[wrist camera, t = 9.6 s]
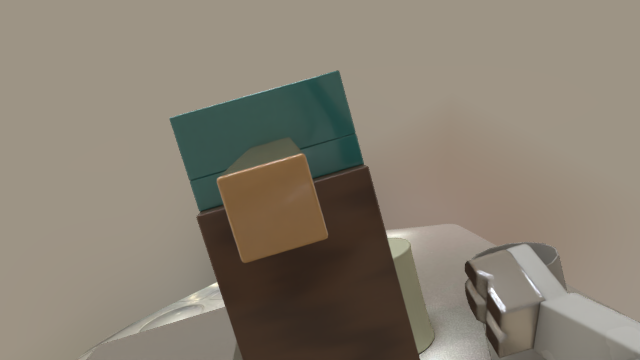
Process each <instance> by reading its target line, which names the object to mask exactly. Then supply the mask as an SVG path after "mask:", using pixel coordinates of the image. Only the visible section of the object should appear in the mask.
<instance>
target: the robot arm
mask: <svg viewBox="0 0 640 360" xmlns="http://www.w3.org/2000/svg"><path fill="white" fill-rule="evenodd" d="M465 272H466V274H467V276H468V277H469V279H468V280H467V281H466V283H465V292H466V296H467V300H468V303H469V305H470V308H471V310H472V312H473V314H474V315H475V317H476V319H477V320H478V321H480V322H482V323H484V324H486V336H487V338H488V340H489V342H490V343H491V345H492V347H493V348H494V350H495V352H496V353H497V355H498V357H499V358H502V357H506V356H510V355H513V354H517V353H520V352H524V351H527V350H531V349H534V350H533V351H535V352H536V353H538V354H539V355H541V356H542V357H544V358H545V359H547V360H640V322H638V321H636V320H634V319H631V318H629V317H627V316H625V315H623V314H621V313H619V312H616V311H614V310H612V309H610V308H608V307H606V306H603V305H601V304H599V303H597V302H595V301H593V300H590V299H588V298H586V297H584V296H582V295H580V294H578V293H575V292H573V293H569V294H568V292H567V291H566V290H565V289H564V288H563V286H562V285H561V284H560V283H559V281H558V280H557V279H556V278H555V276H554V275H553V274H552V273H551V272H550V270H549V269H548V268H547V267H546V265H545V264H544V263H543V262H542V260H541V259H540V258H539V257H538V256H537V254H536V253H535V252H534V251H533V249H532V248H531V247H530V246H529V245H527V244H522V245H518V246H515V247H512V248H509V249H506V250H501V251H497V252H494V253H491V254H488V255H485V256H482V257H479V258H475V259H472V260H469V261H467V262H466V264H465Z"/></svg>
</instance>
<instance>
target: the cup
mask: <svg viewBox="0 0 640 360" xmlns="http://www.w3.org/2000/svg"><path fill="white" fill-rule="evenodd" d="M522 244H527V245H529V246H530V247H531V248H532V249H533V251H534V252H535V253H536V254H537V256H538V257H539V258H540V259H541V260H542V262H543V263H544V264H545V265H546V267H547V268H548V269H549V270H550V272H551V273H552V274H553V275H554V276H555V278H556V279H557V280H558V281H559V283H560V284H561V285H562V286H563V288H564V289H565V290H566V291H567V289H566V285H565V280H564V275H563V271H562V266H561V262H560V257H559V254H558V252H557V250H556V248H555V247H552V246H549V245H546V244H543V243H532V242H522V243H511V244H505V245H501V246H497V247H493V248H489V249H487V250H485V251H483V252H481V253H478V254H476V255H475V256H474V257H473V258H472V259H475V258H479V257H482V256H485V255H488V254H491V253H494V252H497V251H501V250H506V249H509V248H512V247H515V246H518V245H522ZM472 259H471V260H472ZM483 326H484V330H485V334H486V324H484V323H483ZM486 339H487V343H488V347H489V351H490V355H491V359H492V360H547V359H545V358H544V357H542V356H541V355H539V354H538V353H536V352H535V351H533V350H534V349H531V350H527V351H524V352H520V353H517V354H513V355H510V356H506V357H502V358H499V357H498V355H497V353H496V352H495V350H494V348H493V347H492V345H491V343H490V342H489V340H488V338H487V336H486Z"/></svg>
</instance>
